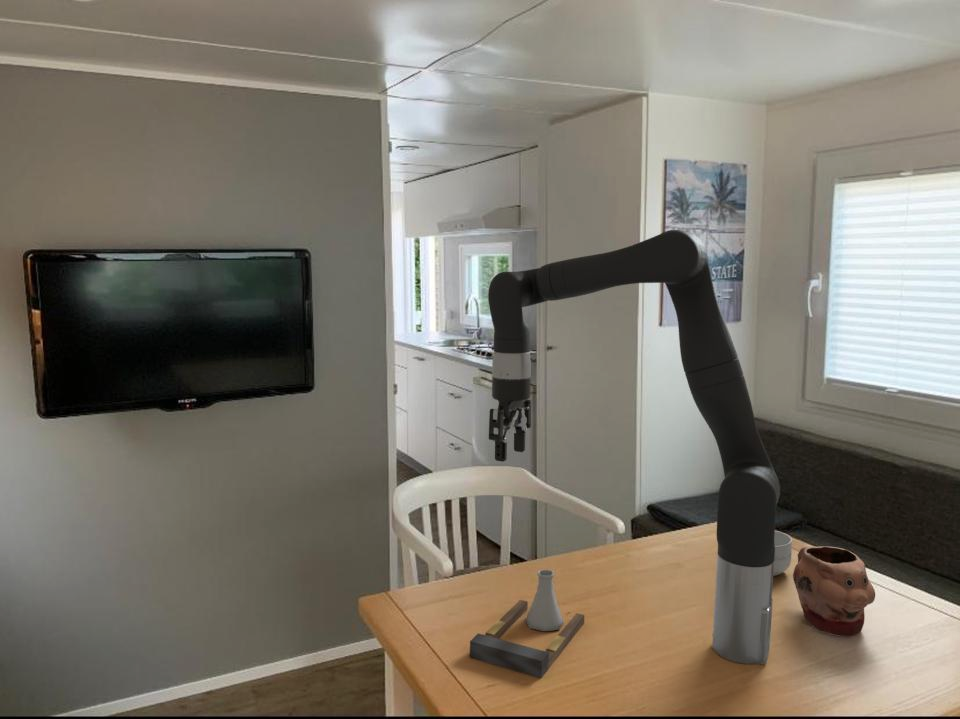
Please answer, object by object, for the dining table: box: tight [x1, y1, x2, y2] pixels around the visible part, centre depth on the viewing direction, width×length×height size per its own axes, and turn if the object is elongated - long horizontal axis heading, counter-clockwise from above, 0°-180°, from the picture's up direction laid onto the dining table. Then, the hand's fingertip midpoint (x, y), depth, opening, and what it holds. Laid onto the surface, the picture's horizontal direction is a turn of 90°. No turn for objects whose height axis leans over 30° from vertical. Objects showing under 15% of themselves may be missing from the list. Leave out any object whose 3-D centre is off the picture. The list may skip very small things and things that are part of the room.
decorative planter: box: [792, 545, 876, 637], centre depth 140 cm, size 20×12×14 cm, turn 14°
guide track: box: [469, 599, 585, 679], centre depth 132 cm, size 13×21×3 cm, turn 153°
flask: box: [525, 568, 565, 632], centre depth 138 cm, size 7×7×10 cm
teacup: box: [773, 530, 793, 577], centre depth 164 cm, size 14×11×8 cm
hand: (510, 455), depth 146 cm, fingers open, 8 cm apart
